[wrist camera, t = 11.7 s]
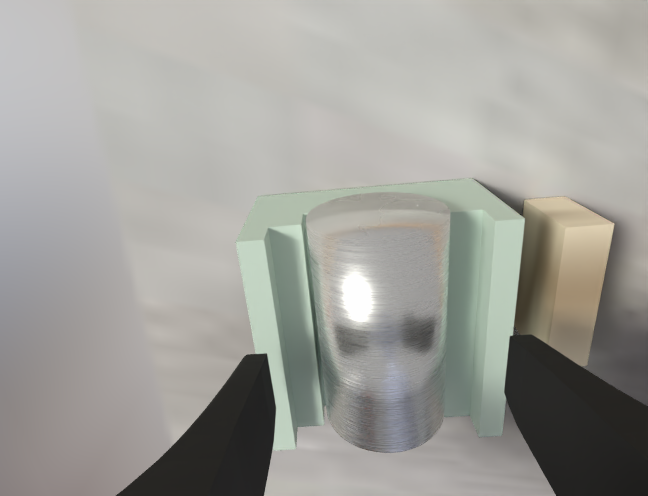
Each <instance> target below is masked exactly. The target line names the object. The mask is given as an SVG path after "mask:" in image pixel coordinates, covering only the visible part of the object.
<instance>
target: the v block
mask: <svg viewBox="0 0 648 496" xmlns="http://www.w3.org/2000/svg"><path fill="white" fill-rule="evenodd" d="M375 192H401V193H412V194H418V195H423V196H428V197H431V198H434V199H437V200H439V201H441V202H443V203H444V204H446V205H447V206H448V208H449V209H450V243H449V276H448V309H447V341H446V374H445V406H444V417H456V416H470V417H471V419H472V422H473V424H474V427H475V429H476V431H477V434H478V436H479V437H492V436H502V433H503V423H504V414H505V404H506V396H505V394H504V387H505V377H506V368H507V358H508V348H509V338H510V336H513V328H514V319H515V310H516V300H517V291H518V281H519V272H520V262H521V253H522V243H523V234H524V224H525V218H523V217H522V216H521V215H520V214H518V213H517V212H516V211H514V210H513V209H512V208H510V207H509V206H508V205H507V204H505V203H504V202H503V201H501V200H500V199H499V198H497V197H496V196H495V195H494V194H492V193H491V192H490V191H488V190H487V189H486V188H484V187H483V186H482V185H481V184H479V183H478V182H477V181H475V180H474V179H473V178H469V179H457V180H445V181H434V182H422V183H410V184H398V185H386V186H374V187H362V188H350V189H338V190H327V191H315V192H303V193H291V194H279V195H267V196H258V197H257V199H256V201H255V204H254V206H253V208H252V210H251V212H250V214H249V216H248V218H247V220H246V222H245V224H244V226H243V228H242V230H241V232H240V234H239V236H238V238H237V240H236V247H237V253H238V258H239V264H240V269H241V275H242V280H243V286H244V291H245V297H246V302H247V308H248V313H249V319H250V324H251V330H252V335H253V341H254V346H255V352H256V354H264V353H267V356H268V362H269V368H270V374H271V380H272V386H273V392H274V398H275V404H276V419H275V433H274V443H273V451H275V450H290V449H296V441H297V427H305V426H320V425H324V406H325V405H326V398H325V389H324V380H323V371H322V362H321V353H320V344H319V335H318V326H317V317H316V308H315V299H314V290H313V281H312V272H311V263H310V254H309V245H308V236H307V227H306V216H307V214H308V213H309V212H310V211H311V210H312V209H313V208H315V207H316V206H318V205H320V204H322V203H325V202H327V201H330V200H333V199H337V198H340V197H345V196H350V195H356V194H363V193H375Z"/></svg>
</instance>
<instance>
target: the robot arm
mask: <svg viewBox="0 0 648 496" xmlns="http://www.w3.org/2000/svg"><path fill="white" fill-rule="evenodd" d="M504 394H505V396H506V399H507V401H508V404H509V407H510V409H511V412H512V414H513V416H514V419H515V421H516V424H517V426H518V428H519V430H520V431H521V433H522V435H523V437H524V439H525V441H526V442H527V444H528V446H529V448H530V450H531V452H532V453H533V455H534V457H535V459H536V460H537V462H538V464H539V466H540V468H541V469H542V471H543V473H544V475H545V477H546V478H547V480H548V482H549V484H550V485H551V487H552V489H553V491H554V493H555V494H556V496H648V406H646V405H644V404H642V403H640V402H639V401H637V400H635V399H633V398H632V397H630V396H628V395H627V394H625V393H623V392H621V391H620V390H618V389H616V388H615V387H613V386H611V385H610V384H608V383H606V382H605V381H603V380H601V379H600V378H598V377H597V376H595V375H593V374H592V373H590V372H589V371H587V370H586V369H584V368H583V367H581V366H580V365H578V364H576V363H575V362H573V361H572V360H570V359H569V358H567V357H566V356H564V355H563V354H561V353H560V352H558V351H557V350H555V349H554V348H552V347H551V346H549V345H548V344H546V343H545V342H543V341H542V340H540V339H539V338H537V337H535V336H534V335H532V334H528V335H514V336H510V338H509V348H508V358H507V368H506V377H505V387H504ZM275 419H276V404H275V398H274V392H273V386H272V380H271V374H270V368H269V362H268V356H267V353H264V354H250V355H246V356H245V357H244V358H243V359H242V361H241V362H240V363H239V365H238V366H237V368H236V369H235V371H234V372H233V373H232V375H231V376H230V378H229V379H228V380H227V382H226V383H225V384H224V386H223V387H222V388H221V390H220V391H219V392H218V394H217V395H216V396H215V398H214V399H213V400H212V401H211V403H210V404H209V405H208V406H207V408H206V409H205V410H204V411H203V413H202V414H201V415H200V416H199V417H198V418H197V419H196V421H195V422H194V423H193V424H192V425H191V426H190V428H189V429H188V430H187V431H186V432H185V433H184V434H183V435H182V436H181V437H180V439H179V440H178V441H177V442H176V443H175V444H174V445H173V446H172V447H171V448H170V449H169V450H168V451H167V452H166V453H165V454H164V455H163V456H162V457H161V458H160V459H159V460H158V461H156V462H155V463H154V464H153V465H152V466H151V467H150V468H148V469H147V470H146V471H145V472H144V473H143V474H141V475H140V476H139V477H138V478H137V479H136V480H135V481H133V482H132V483H131V484H130V485H129V486H127V487H126V488H125V489H124V490H123V491H121V492H120V493H119V494H117V495H116V496H264V492H265V486H266V481H267V476H268V470H269V465H270V460H271V454H272V449H273V443H274V433H275Z"/></svg>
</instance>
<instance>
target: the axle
mask: <svg viewBox="0 0 648 496" xmlns="http://www.w3.org/2000/svg"><path fill="white" fill-rule="evenodd" d="M306 227H307V236H308V245H309V254H310V263H311V272H312V281H313V290H314V299H315V308H316V317H317V326H318V335H319V344H320V353H321V362H322V371H323V380H324V389H325V398H326V407H327V415H328V418H329V421H330V423H331V425H332V427H333V428H334V430H335V431H336V432H337V433H338V434H339V435H340V436H341V437H342V438H344V439H345V440H346V441H348V442H349V443H351V444H353V445H355V446H357V447H359V448H362V449H366V450H369V451H374V452H383V453H394V452H402V451H406V450H410V449H413V448H415V447H418V446H420V445H422V444H424V443H425V442H427V441H428V440H429V439H431V438H432V437H433V436H434V435H435V434H436V432H437V431H438V430H439V428H440V426H441V424H442V422H443V418H444V406H445V374H446V341H447V309H448V276H449V243H450V209H449V208H448V206H447V205H446V204H444V203H443V202H441V201H439V200H437V199H434V198H431V197H428V196H423V195H418V194H412V193H401V192H375V193H363V194H356V195H350V196H345V197H340V198H337V199H333V200H330V201H327V202H325V203H322V204H320V205H318V206H316V207H315V208H313V209H312V210H311V211H310V212H309V213H308V214H307V216H306Z"/></svg>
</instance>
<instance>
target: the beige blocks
mask: <svg viewBox="0 0 648 496" xmlns="http://www.w3.org/2000/svg"><path fill="white" fill-rule="evenodd" d="M523 218H525V224H524V234H523V243H522V253H521V262H520V272H519V281H518V291H517V300H516V310H515V319H514V327H515V328H516V329H517V331H518V332H519V334H520V335H528V334H532V335H534V336H535V337H537V338H539V339H540V340H542V341H543V342H545V343H546V344H548V345H549V346H551V347H552V348H554V349H555V350H557V351H558V352H560V353H561V354H563V355H564V356H566V357H567V358H569V359H570V360H572V361H573V362H575V363H576V364H578V365H580V366H587V363H588V358H589V353H590V348H591V342H592V337H593V332H594V327H595V322H596V317H597V312H598V306H599V301H600V296H601V291H602V286H603V281H604V275H605V270H606V265H607V260H608V255H609V250H610V245H611V239H612V234H613V229H614V223H612V222H610V221H609V220H607V219H605V218H603V217H601V216H600V215H598V214H596V213H594V212H592V211H590V210H589V209H587V208H585V207H583V206H581V205H580V204H578V203H576V202H574V201H572V200H570V199H569V198H567V197H565V196H563V197H551V198H539V199H527V200H524V209H523Z"/></svg>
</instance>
